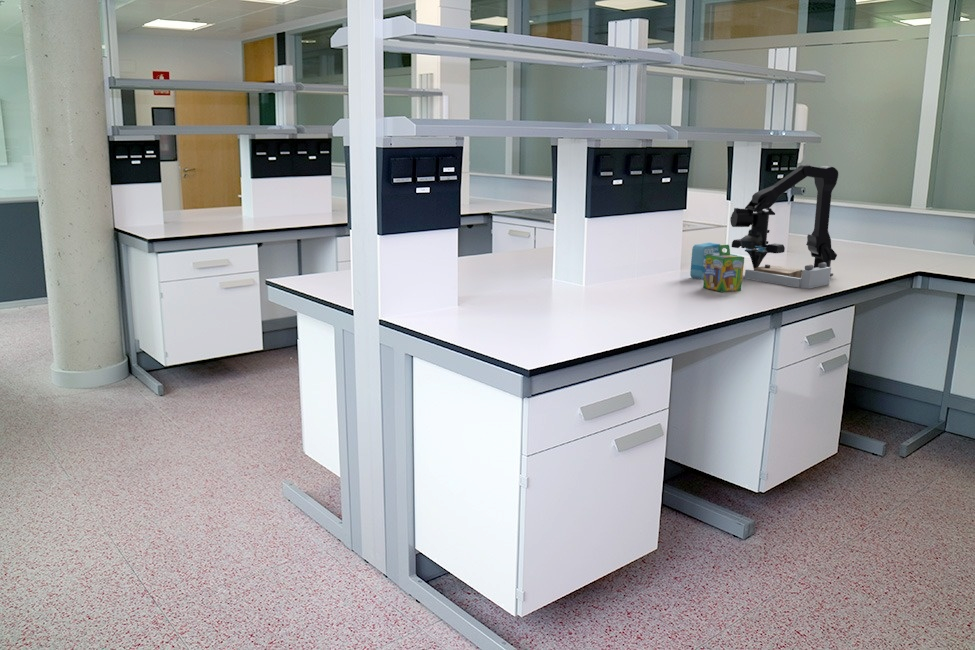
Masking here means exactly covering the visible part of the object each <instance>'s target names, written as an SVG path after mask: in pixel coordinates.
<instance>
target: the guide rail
mask: <svg viewBox="0 0 975 650" xmlns="http://www.w3.org/2000/svg"><path fill="white" fill-rule="evenodd" d="M744 271H745V272H744V279H748V280H753V281H757V282H765V283H770V284H775V285H781V286H786V287H794V288H797V289H798V288H801V287H800V285H801V278H796V277H790V276H784V275H778V274H772V273H766V272H760V271H754V269H753V270H752V269H745V270H744Z"/></svg>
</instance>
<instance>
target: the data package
mask: <svg viewBox="0 0 975 650" xmlns="http://www.w3.org/2000/svg"><path fill="white" fill-rule="evenodd" d="M719 245H721V244H720V243H713V242H706V243H698V244H694V245H693V246H692V248H691V249H692V250H691V261H690V262H691V263H690V274H689V275H690V277H691V278H692V279H697V280H698V279H699V280H704V274H705V263H706V254H716V253H719Z"/></svg>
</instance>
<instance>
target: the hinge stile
mask: <svg viewBox="0 0 975 650" xmlns="http://www.w3.org/2000/svg"><path fill="white" fill-rule="evenodd" d="M826 266H827V263H825V262H824V263H819V264H818V267H816V268H814V264H807V265H805V266H804V269H801V270H802V276H801V285H800V287H799V288H802V289H812V288H813V289H814V288H818V287H823V286H827V285H828V286H829V285H830V281H831V280H830V279H831V275H830V273H831V272H832V267H831V266H830V267H826Z"/></svg>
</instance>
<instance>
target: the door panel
mask: <svg viewBox="0 0 975 650" xmlns="http://www.w3.org/2000/svg"><path fill="white" fill-rule="evenodd" d="M753 270H754V271H760V272H766V273H772V274H778V275H784V276H790V277H796V278H801V277H802V270H803V269H799V268H791V267H783V266H777V265H771V264H764V265H762V266H759V267H758V268H753Z"/></svg>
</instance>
